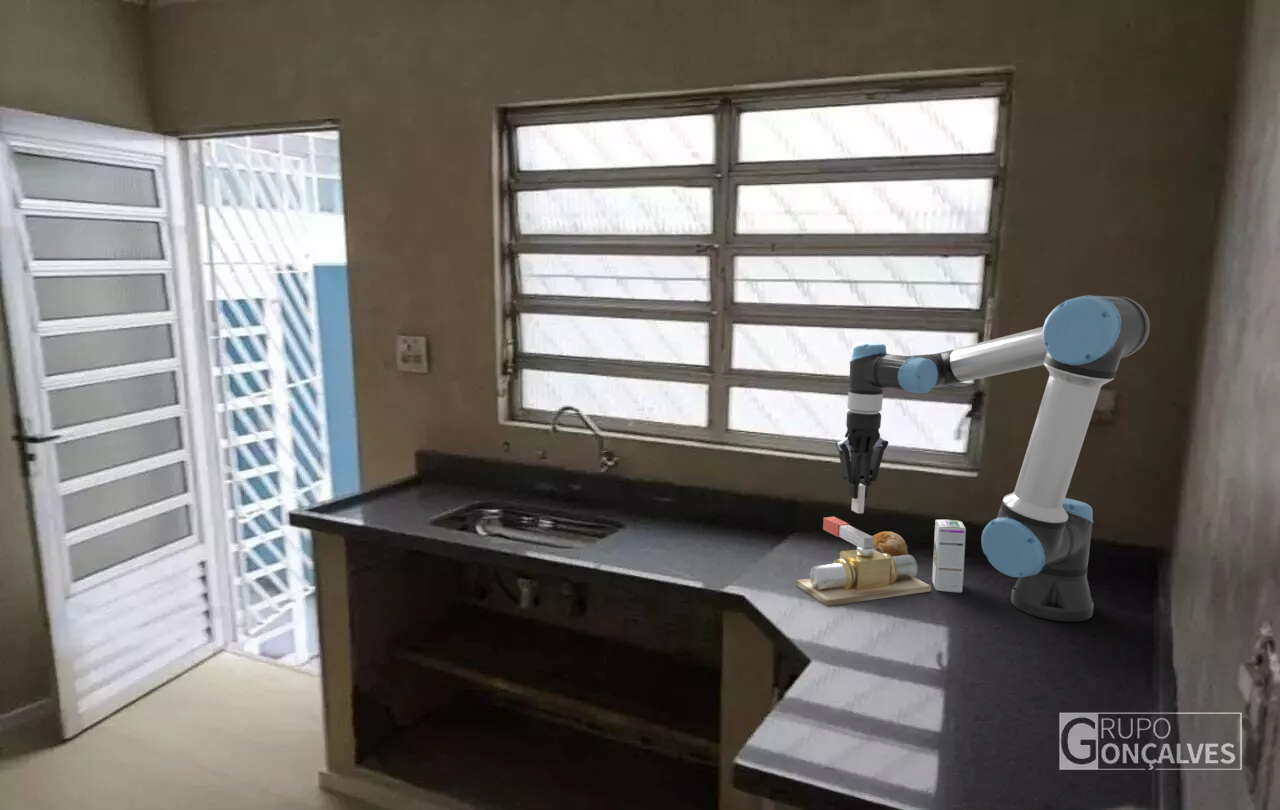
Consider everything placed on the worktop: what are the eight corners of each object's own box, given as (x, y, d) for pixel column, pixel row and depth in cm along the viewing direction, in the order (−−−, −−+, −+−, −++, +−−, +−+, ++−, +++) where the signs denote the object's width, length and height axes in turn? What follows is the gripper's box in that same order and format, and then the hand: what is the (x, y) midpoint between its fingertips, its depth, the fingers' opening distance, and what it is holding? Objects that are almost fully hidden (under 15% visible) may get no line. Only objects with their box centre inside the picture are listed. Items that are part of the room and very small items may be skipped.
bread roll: (904, 578, 195) (921, 549, 194) (866, 560, 195) (882, 531, 194) (892, 564, 205) (908, 536, 204) (856, 546, 204) (872, 518, 203)
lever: (877, 555, 176) (878, 537, 176) (863, 557, 175) (864, 538, 175) (834, 533, 192) (835, 516, 191) (821, 534, 190) (822, 517, 190)
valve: (899, 575, 186) (901, 544, 185) (919, 586, 179) (921, 554, 178) (806, 587, 178) (808, 555, 177) (824, 599, 171) (826, 565, 170)
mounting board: (930, 591, 178) (931, 585, 177) (826, 606, 169) (827, 600, 169) (895, 572, 189) (896, 567, 188) (796, 585, 180) (796, 580, 180)
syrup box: (963, 593, 177) (968, 527, 175) (934, 590, 178) (938, 525, 176) (958, 583, 182) (963, 520, 180) (930, 581, 184) (934, 518, 181)
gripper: (878, 407, 192) (871, 505, 196) (830, 409, 188) (824, 509, 191) (898, 412, 185) (891, 514, 189) (849, 415, 181) (842, 518, 185)
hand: (857, 511), depth 190 cm, fingers closed
